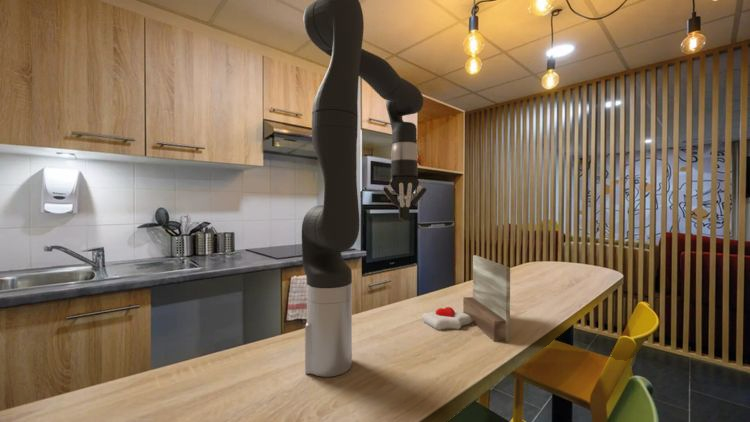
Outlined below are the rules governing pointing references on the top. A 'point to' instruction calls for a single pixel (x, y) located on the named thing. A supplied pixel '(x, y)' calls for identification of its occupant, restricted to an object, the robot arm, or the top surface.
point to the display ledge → (490, 299)
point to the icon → (446, 319)
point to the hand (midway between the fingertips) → (404, 220)
